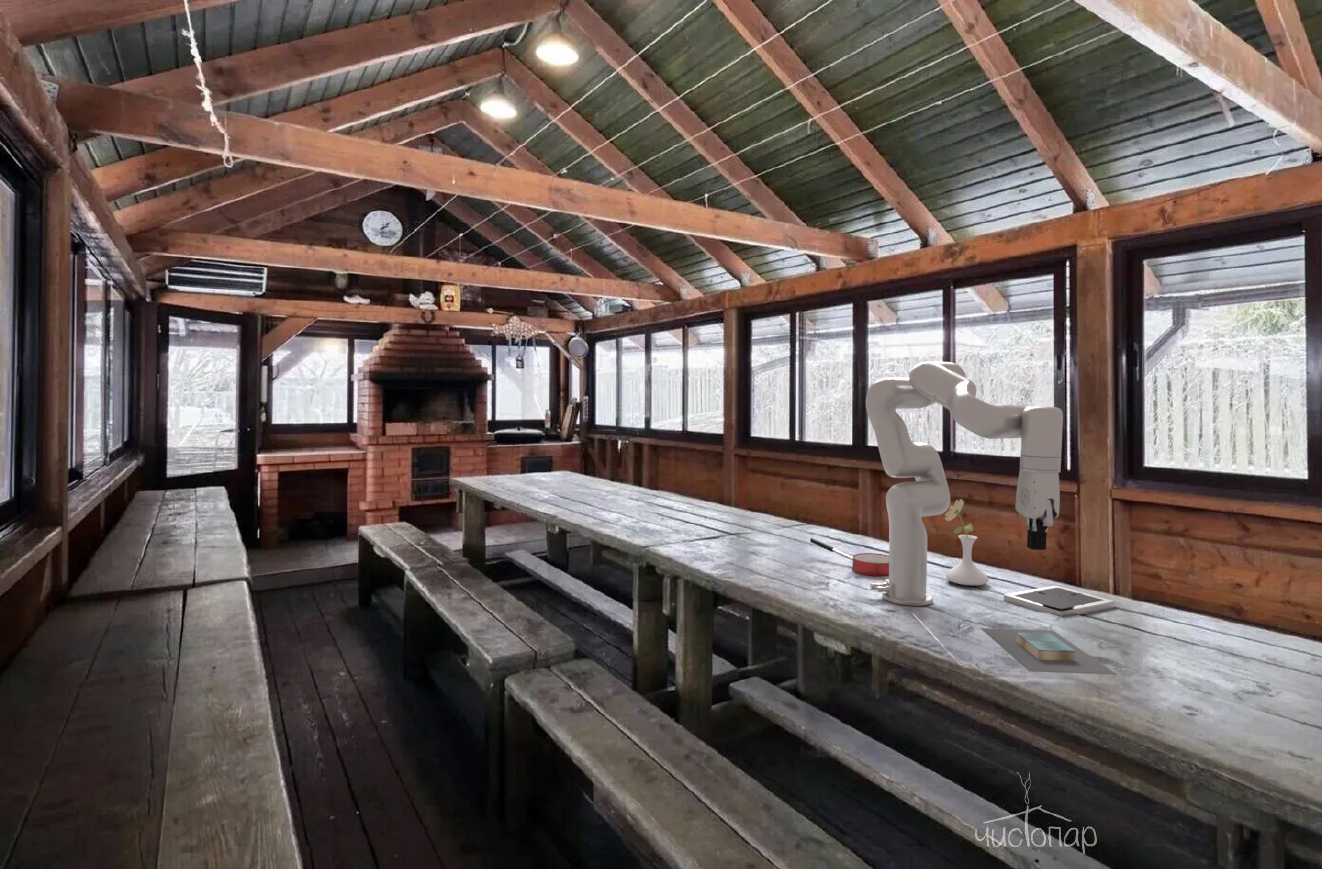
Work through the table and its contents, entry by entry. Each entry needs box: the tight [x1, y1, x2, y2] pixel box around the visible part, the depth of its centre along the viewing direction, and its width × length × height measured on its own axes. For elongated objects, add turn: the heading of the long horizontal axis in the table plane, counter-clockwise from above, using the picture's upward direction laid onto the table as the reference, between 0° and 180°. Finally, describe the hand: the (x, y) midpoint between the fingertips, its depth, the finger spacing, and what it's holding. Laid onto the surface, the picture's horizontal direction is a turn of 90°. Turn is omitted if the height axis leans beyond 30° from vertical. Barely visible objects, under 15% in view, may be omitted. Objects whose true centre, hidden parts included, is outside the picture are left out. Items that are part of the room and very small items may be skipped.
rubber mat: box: [980, 627, 1117, 675], centre depth 137 cm, size 16×24×1 cm, turn 175°
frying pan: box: [809, 537, 889, 578], centre depth 209 cm, size 32×13×6 cm, turn 41°
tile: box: [1016, 633, 1075, 661], centre depth 136 cm, size 7×2×10 cm
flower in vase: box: [944, 498, 989, 587], centre depth 188 cm, size 13×11×25 cm
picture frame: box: [1003, 585, 1115, 617], centre depth 170 cm, size 16×3×21 cm
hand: (1036, 548), depth 139 cm, fingers closed
